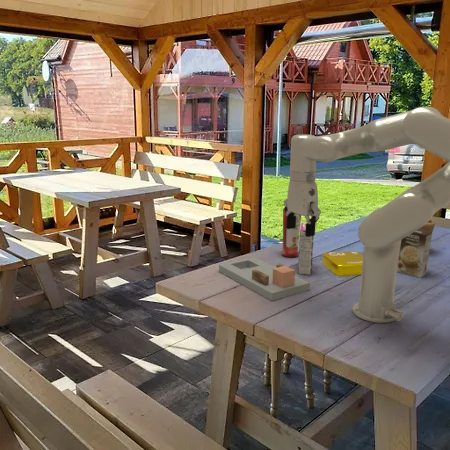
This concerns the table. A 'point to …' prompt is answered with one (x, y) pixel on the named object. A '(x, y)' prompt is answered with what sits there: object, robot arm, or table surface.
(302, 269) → the candy bar box
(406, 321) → the table surface
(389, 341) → the table surface
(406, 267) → the coffee box
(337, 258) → the element tile
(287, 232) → the red sauce bottle
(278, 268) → the block
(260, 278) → the channel walls
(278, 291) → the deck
